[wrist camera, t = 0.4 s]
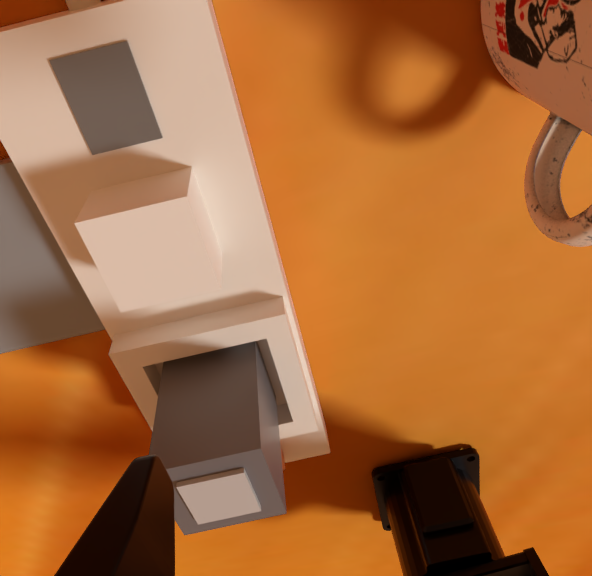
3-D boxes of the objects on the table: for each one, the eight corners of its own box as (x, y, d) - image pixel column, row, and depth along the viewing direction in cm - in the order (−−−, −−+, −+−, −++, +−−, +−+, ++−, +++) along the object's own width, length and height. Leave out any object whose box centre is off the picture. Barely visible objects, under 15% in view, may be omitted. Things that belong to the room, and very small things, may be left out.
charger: (275, 396, 25) (286, 518, 20) (194, 414, 25) (184, 540, 20) (254, 333, 22) (261, 453, 17) (164, 354, 23) (145, 478, 18)
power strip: (325, 423, 29) (338, 493, 26) (193, 452, 29) (188, 525, 26) (87, -460, 12) (22, -632, 8) (-233, -368, 12) (-434, -492, 8)
